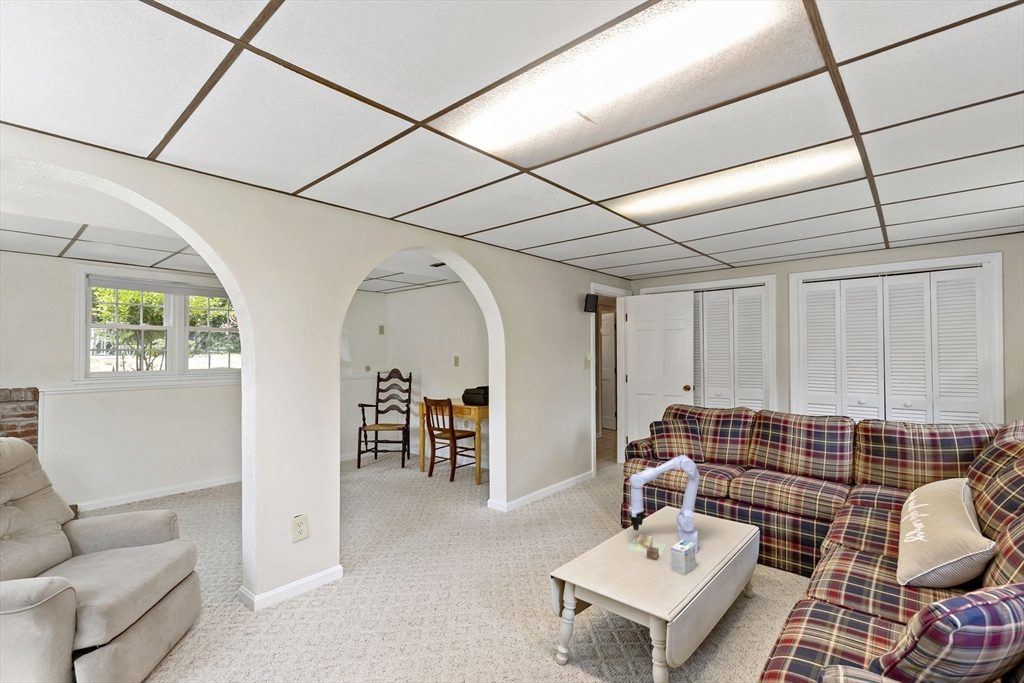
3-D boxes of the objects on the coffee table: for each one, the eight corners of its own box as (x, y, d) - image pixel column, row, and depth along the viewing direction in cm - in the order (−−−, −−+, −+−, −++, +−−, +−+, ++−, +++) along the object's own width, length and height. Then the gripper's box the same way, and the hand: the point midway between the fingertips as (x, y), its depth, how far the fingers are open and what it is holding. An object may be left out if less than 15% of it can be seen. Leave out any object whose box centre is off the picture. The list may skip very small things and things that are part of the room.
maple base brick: (652, 544, 234) (652, 536, 234) (650, 549, 228) (649, 540, 229) (640, 542, 237) (639, 534, 237) (637, 547, 231) (637, 538, 231)
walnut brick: (658, 559, 220) (658, 548, 220) (656, 563, 216) (656, 551, 216) (648, 557, 222) (648, 546, 222) (646, 561, 218) (646, 550, 218)
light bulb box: (681, 563, 215) (681, 539, 216) (696, 567, 210) (695, 543, 211) (670, 571, 208) (669, 546, 208) (685, 576, 203) (684, 550, 203)
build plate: (666, 546, 234) (666, 544, 234) (661, 557, 221) (661, 555, 221) (633, 541, 241) (633, 539, 241) (626, 551, 229) (626, 549, 229)
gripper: (632, 494, 242) (633, 521, 242) (625, 502, 229) (625, 531, 229) (646, 496, 239) (647, 523, 239) (639, 504, 226) (640, 533, 226)
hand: (637, 527), depth 234 cm, fingers open, 7 cm apart
